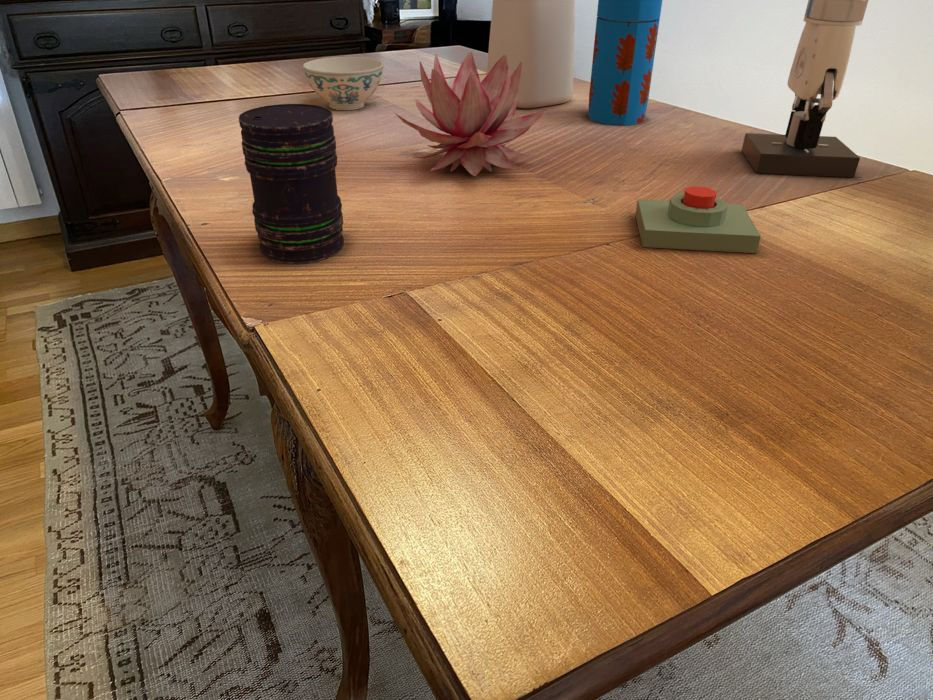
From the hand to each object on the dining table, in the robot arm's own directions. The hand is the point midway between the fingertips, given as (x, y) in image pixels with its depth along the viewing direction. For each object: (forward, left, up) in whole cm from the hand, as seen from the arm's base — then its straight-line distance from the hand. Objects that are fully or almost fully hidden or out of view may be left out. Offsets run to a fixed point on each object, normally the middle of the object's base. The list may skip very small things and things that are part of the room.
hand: (800, 141), depth 108 cm
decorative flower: (+50, +8, -4) cm, 51 cm away
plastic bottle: (+43, -36, -4) cm, 56 cm away
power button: (+20, +30, 0) cm, 36 cm away
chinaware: (+78, -25, -4) cm, 82 cm away
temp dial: (0, 0, 0) cm, 0 cm away
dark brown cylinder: (+66, +40, -4) cm, 77 cm away
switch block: (+20, +30, -4) cm, 36 cm away
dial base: (0, 0, -4) cm, 4 cm away
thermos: (+26, -24, -4) cm, 36 cm away
